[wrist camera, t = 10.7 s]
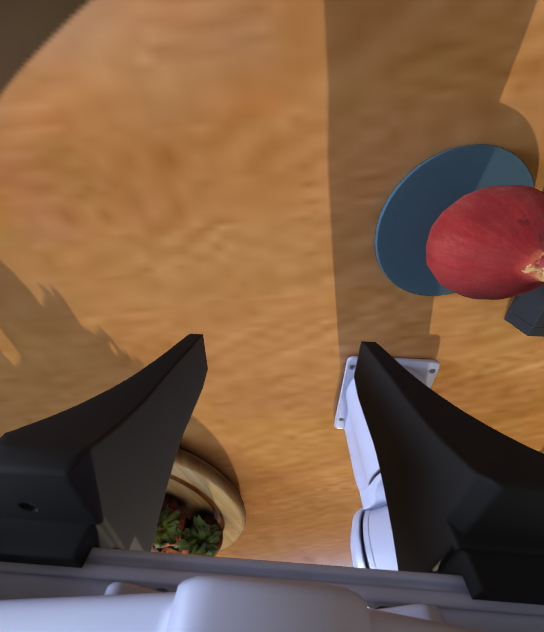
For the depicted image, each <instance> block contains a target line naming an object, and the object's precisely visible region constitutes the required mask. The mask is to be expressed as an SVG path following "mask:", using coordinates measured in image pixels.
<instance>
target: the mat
mask: <svg viewBox="0 0 544 632" xmlns="http://www.w3.org/2000/svg"><path fill="white" fill-rule="evenodd" d="M497 185H524V186H531V187H533V188H535V187H534V182H533V179H532V176H531V173H530V172H529V170H528V168H527V166H526V165H525V164H524V163H523V162H522V160H521V159H520V158H519V157H517V156H516V155H515V154H513V153H512V152H510V151H508V150H506V149H504V148H501V147H497V146H493V145H485V144H477V145H465V146H460V147H455V148H452V149H449V150H446V151H443V152H441V153H439V154H437V155H435V156H433V157H431V158H429V159H428V160H426V161H424V162H423V163H421V164H420V165H419V166H417V167H416V168H415V169H413V170H412V171H411V172H410V173H409V174H408V175H407V176H406V177H405V178H404V179H403V180H402V181H401V182H400V183H399V184H398V185H397V187H396V188H395V189H394V191H393V192H392V193H391V195H390V196H389V198H388V200H387V201H386V203H385V205H384V207H383V209H382V212H381V214H380V217H379V220H378V223H377V227H376V234H375V250H376V256H377V259H378V262H379V265H380V267H381V269H382V270H383V272H384V273H385V275H386V276H387V277H388V278H389V279H390V280H391V281H392V282H393V283H394V284H395V285H397V286H398V287H400V288H401V289H403V290H405V291H408V292H410V293H413V294H418V295H425V296H439V295H446V294H451V293H455V292H453V291H451V290H449V289H447V288H445V287H443V286H442V285H440V284H439V283H438V281H437V279H436V278H435V276H434V275H433V273H432V272H431V270H430V268H429V267H428V265H427V259H426V244H427V240H428V237H429V233H430V230H431V227H432V225H433V224H434V223H435V221H436V220H437V219H438V217H439V216H440V215H441V213H442V212H443V211H444V210H446V209H447V208H448V207H449V206H451V205H452V204H453V203H455V202H456V201H457V200H459V199H460V198H461V197H463V196H464V195H466V194H469V193H471V192H474V191H477V190H479V189H482V188H484V187H490V186H497Z"/></svg>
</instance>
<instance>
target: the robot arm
mask: <svg viewBox="0 0 544 632" xmlns="http://www.w3.org/2000/svg"><path fill="white" fill-rule="evenodd" d="M351 365H354V366H352V367H351ZM439 367H440V364H439V362H438V361H437V360H429V359H407V358H393V357H392V356H391V355H390V354H389V353H387V352H386V351H385V350H384V349H383V348H382V347H381V346H380V345H378V344H377V343H376V342H364V341H362V342H361V346H360V350H359V355H358V356H351V357H349V358H348V359H347V363H346V368H345V373H344V378H343V383H342V388H341V392H340V397H339V402H338V407H337V412H336V417H335V422H334V424H335V427H336V428H340V429H345V433H346V438H347V443H348V447H349V452H350V457H351V461H352V466H353V471H354V475H355V480H356V483H357V487H358V489H359V491H360V496H361V500H362V505H363V508H361V509H359V510H358V511H357V512H356V513H355V515H354V517H353V522H352V529H351V554H352V560H353V565H354V567H343V566H330V565H317V564H304V563H291V562H278V561H265V560H252V559H239V558H226V557H213V556H200V555H187V554H174V553H161V552H151V549H152V545H153V541H154V536H155V532H156V528H157V524H158V520H159V516H160V512H161V508H162V504H163V501H164V497H165V493H166V489H167V486H168V482H169V479H170V475H171V472H172V468H173V465H174V461H175V458H176V455H177V452H178V448H179V445H180V442H181V439H182V436H183V434H184V431H185V429H186V426H187V424H188V422H189V419H190V417H191V415H192V412H193V410H194V407H195V405H196V403H197V400H198V398H199V396H200V393H201V391H202V388H203V385H204V381H205V377H206V373H207V370H208V367H207V360H206V353H205V346H204V339H203V334H189V335H188V336H186V337H185V338H184V339H182V340H181V341H180V342H179V343H177V344H176V345H175V346H173V347H172V348H171V349H170V350H168V351H167V352H166V353H164V354H163V355H162V356H160V357H159V358H158V359H156V360H155V361H154V362H152V363H151V364H149V365H148V366H146V367H145V368H144V369H142V370H141V371H139V372H138V373H136V374H135V375H133V376H132V377H130V378H128V379H127V380H125V381H123V382H122V383H120V384H118V385H116V386H115V387H113V388H111V389H109V390H107V391H105V392H103V393H101V394H99V395H97V396H95V397H93V398H91V399H89V400H88V401H85V402H83V403H81V404H79V405H77V406H75V407H72V408H70V409H68V410H65V411H63V412H61V413H58V414H56V415H53V416H51V417H48V418H46V419H43V420H41V421H38V422H35V423H32V424H30V425H27V426H24V427H21V428H19V429H16V430H13V431H10V432H7V433H5V434H4V435H3V436H2V437H1V438H0V632H544V454H543V453H540V452H538V451H536V450H534V449H532V448H529V447H527V446H525V445H523V444H521V443H519V442H517V441H516V440H514V439H512V438H510V437H508V436H506V435H504V434H502V433H500V432H498V431H496V430H495V429H493V428H491V427H489V426H487V425H485V424H484V423H482V422H480V421H479V420H477V419H475V418H474V417H472V416H470V415H469V414H467V413H465V412H464V411H462V410H460V409H459V408H457V407H456V406H454V405H453V404H451V403H450V402H448V401H447V400H445V399H444V398H442V397H441V396H440V395H438V394H437V393H435V392H434V391H433V390H431V389H430V388H431V386H432V383H433V381H434V379H435V376H436V374H437V372H438V370H439ZM431 369H432V370H431Z"/></svg>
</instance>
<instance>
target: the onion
mask: <svg viewBox="0 0 544 632" xmlns="http://www.w3.org/2000/svg"><path fill="white" fill-rule="evenodd" d="M426 259H427V265H428V267H429V268H430V270H431V272H432V273H433V275H434V276H435V278H436V279H437V281H438V283H439V284H440V285H442V286H443V287H445V288H447V289H449V290H451V291H453V292H455V293H458V294H460V295H462V296H465V297H469V298H473V299H490V300H497V299H504V298H509V297H513V296H517V295H521V294H523V293H526V292H529V291H532V290H534V289H536V288H538V287H540V286H542V285H544V192H542V191H539V190H537V189H535V188H533V187H531V186H524V185H497V186H490V187H484V188H482V189H479V190H477V191H474V192H471V193H469V194H466V195H464V196H463V197H461V198H460V199H459V200H457V201H456V202H455V203H453V204H452V205H451V206H449V207H448V208H447V209H446V210H444V211H443V212H442V213H441V215H440V216H439V217H438V219H437V220H436V221H435V223H434V224H433V225H432V227H431V230H430V233H429V237H428V240H427V244H426Z"/></svg>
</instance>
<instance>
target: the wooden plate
mask: <svg viewBox="0 0 544 632" xmlns="http://www.w3.org/2000/svg"><path fill="white" fill-rule="evenodd" d="M245 519H246V513H245V507H244V504H243V501H242V499H241V496H240V494H239V493H238V491H237V489H236V488H235V487H234V486H233V484H232V483H231V482H230V481H229V480H228V479H227V478H226V477H225V476H224V475H223V474H221V473H220V472H219V471H218V470H216V469H215V468H214V467H212V466H211V465H209V464H208V463H206V462H205V461H203V460H201V459H200V458H198V457H196V456H195V455H193V454H191V453H189V452H187V451H185V450H182V449H180V448H178V452H177V455H176V458H175V461H174V465H173V468H172V472H171V475H170V479H169V482H168V486H167V489H166V493H165V497H164V501H163V504H162V508H161V512H160V516H159V520H158V524H157V528H156V532H155V536H154V541H153V545H152V549H151V552H161V553H174V554H187V555H200V556H213V557H214V556H215V555H216V554H217V553H218V552H219V551H221V550H224V549H225V548H227V547H229V546H230V545H231V544H233V543H234V542H235V541H236V540H237V539H238V537H239V536H240V534H241V532H242V530H243V528H244V525H245Z"/></svg>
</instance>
